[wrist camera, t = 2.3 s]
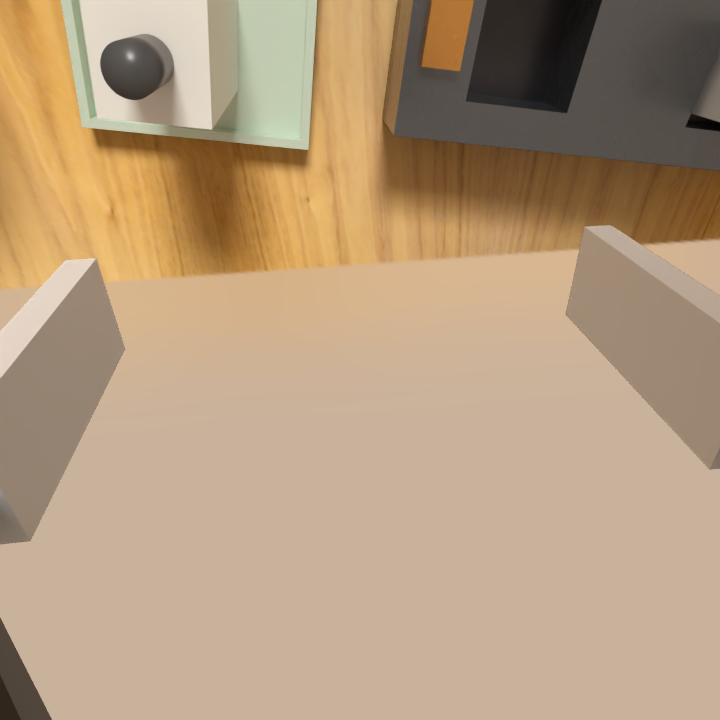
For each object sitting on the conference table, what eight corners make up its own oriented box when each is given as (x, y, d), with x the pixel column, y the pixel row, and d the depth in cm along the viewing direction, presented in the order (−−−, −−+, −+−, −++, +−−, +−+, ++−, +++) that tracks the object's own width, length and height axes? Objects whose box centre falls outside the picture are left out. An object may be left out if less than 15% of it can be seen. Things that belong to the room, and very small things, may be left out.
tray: (56, -96, 26) (43, -101, 25) (319, -55, 28) (320, -57, 27) (90, 121, 32) (82, 127, 30) (308, 144, 33) (308, 150, 32)
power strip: (409, -90, 27) (430, -107, 23) (841, -17, 31) (934, -19, 26) (382, 118, 33) (395, 138, 28) (750, 159, 36) (814, 183, 32)
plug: (149, -16, 28) (42, -21, 16) (237, -4, 28) (193, 0, 17) (158, 80, 30) (70, 134, 19) (238, 89, 31) (200, 147, 19)
